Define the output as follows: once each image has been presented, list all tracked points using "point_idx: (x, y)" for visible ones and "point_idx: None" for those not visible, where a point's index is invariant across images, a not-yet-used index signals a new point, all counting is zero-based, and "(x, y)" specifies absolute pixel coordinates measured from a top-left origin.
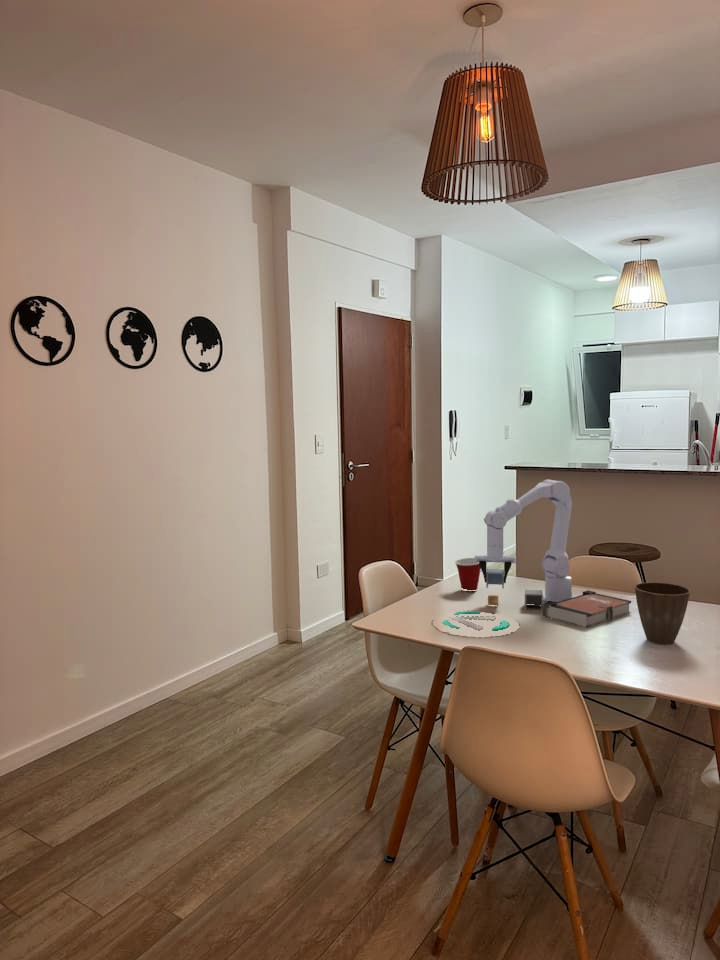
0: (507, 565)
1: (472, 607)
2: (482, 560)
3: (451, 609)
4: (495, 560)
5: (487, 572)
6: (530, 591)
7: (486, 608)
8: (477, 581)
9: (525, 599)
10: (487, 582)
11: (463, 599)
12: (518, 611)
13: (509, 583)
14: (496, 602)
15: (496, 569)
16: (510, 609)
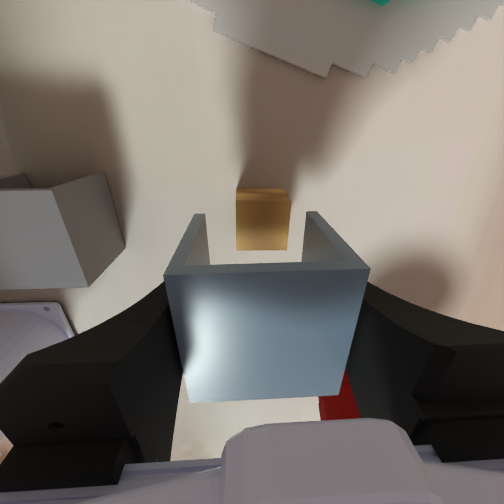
0: (52, 369)
1: (356, 161)
2: (495, 470)
3: (470, 100)
4: (304, 441)
5: (355, 276)
6: (42, 257)
7: (290, 155)
8: (325, 401)
9: (71, 181)
10: (320, 226)
11: (376, 276)
12: (127, 127)
13: (218, 442)
14: (243, 194)
15: (255, 391)
16: (173, 159)
